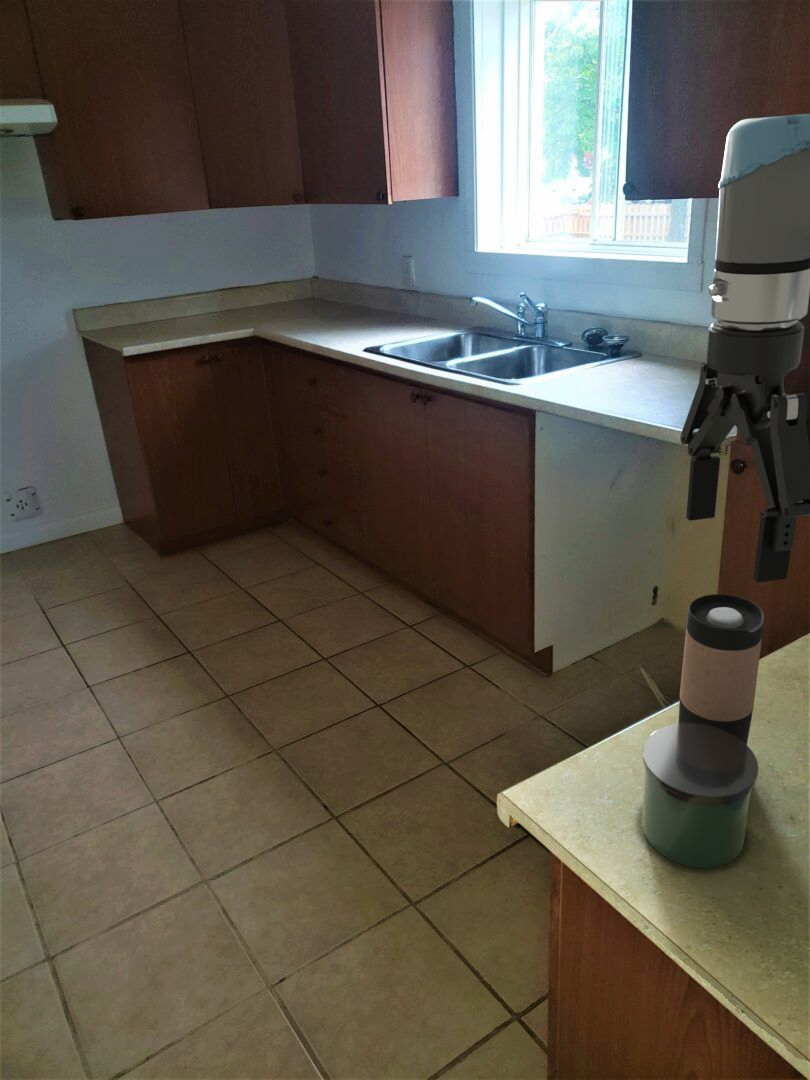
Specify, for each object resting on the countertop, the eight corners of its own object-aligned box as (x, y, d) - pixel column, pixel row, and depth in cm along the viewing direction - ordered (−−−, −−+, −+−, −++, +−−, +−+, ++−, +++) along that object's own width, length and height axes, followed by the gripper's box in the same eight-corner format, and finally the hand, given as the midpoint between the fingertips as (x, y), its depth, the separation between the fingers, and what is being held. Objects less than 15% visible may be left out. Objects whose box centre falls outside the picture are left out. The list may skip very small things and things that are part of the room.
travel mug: (671, 736, 98) (683, 591, 89) (739, 741, 96) (758, 594, 88) (677, 781, 91) (691, 629, 83) (750, 787, 90) (772, 632, 81)
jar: (739, 797, 88) (748, 726, 84) (756, 877, 79) (768, 801, 75) (635, 788, 91) (640, 719, 87) (640, 865, 81) (645, 791, 77)
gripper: (654, 301, 80) (643, 501, 89) (796, 357, 57) (762, 616, 66) (728, 294, 80) (710, 493, 89) (896, 346, 58) (849, 604, 67)
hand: (732, 546), depth 78 cm, fingers open, 13 cm apart
